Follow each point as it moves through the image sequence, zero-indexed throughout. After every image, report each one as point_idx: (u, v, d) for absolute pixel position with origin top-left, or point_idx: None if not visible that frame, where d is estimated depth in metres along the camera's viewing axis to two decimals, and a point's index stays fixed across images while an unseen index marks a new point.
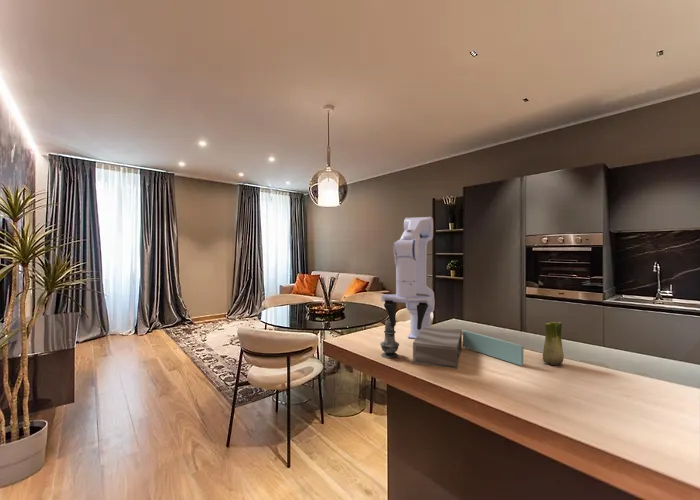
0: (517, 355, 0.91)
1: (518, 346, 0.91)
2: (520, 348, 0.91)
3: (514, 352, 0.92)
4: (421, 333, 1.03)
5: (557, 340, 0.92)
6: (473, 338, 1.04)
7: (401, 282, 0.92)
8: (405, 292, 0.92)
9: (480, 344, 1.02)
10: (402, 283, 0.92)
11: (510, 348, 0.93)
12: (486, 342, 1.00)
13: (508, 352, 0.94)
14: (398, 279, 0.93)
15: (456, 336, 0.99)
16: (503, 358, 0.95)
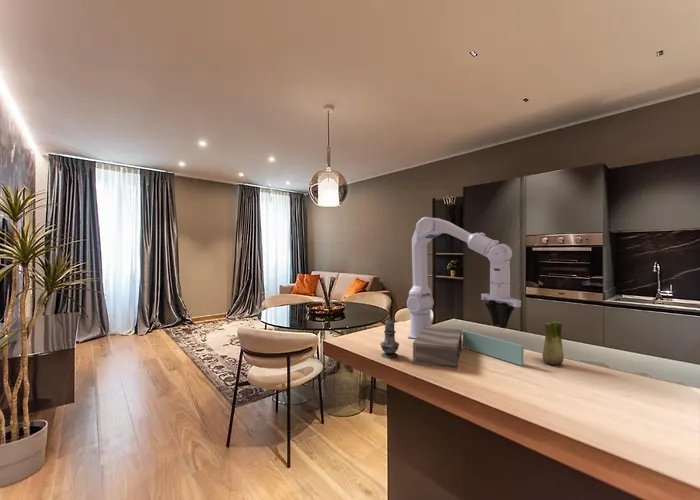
0: (517, 355, 0.91)
1: (518, 346, 0.91)
2: (520, 348, 0.91)
3: (514, 352, 0.92)
4: (421, 333, 1.03)
5: (557, 340, 0.92)
6: (473, 338, 1.04)
7: (491, 283, 1.01)
8: (493, 293, 1.00)
9: (480, 344, 1.02)
10: (491, 284, 1.01)
11: (510, 348, 0.93)
12: (486, 342, 1.00)
13: (508, 352, 0.94)
14: (505, 281, 0.99)
15: (456, 336, 0.99)
16: (503, 358, 0.95)
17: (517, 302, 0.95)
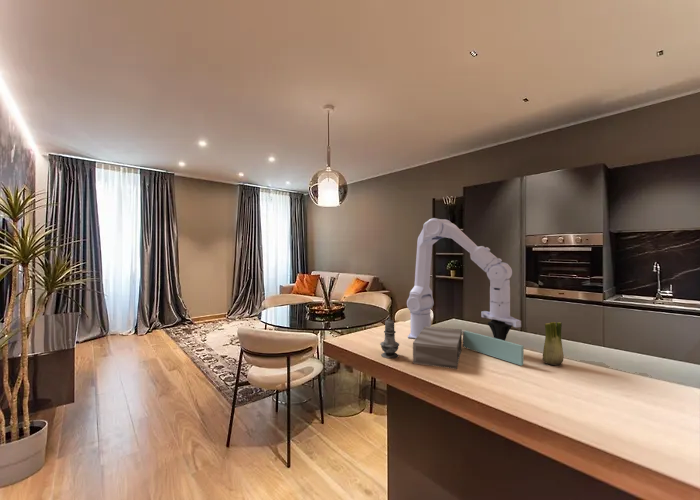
0: (517, 355, 0.91)
1: (518, 346, 0.91)
2: (520, 348, 0.91)
3: (514, 352, 0.92)
4: (421, 333, 1.03)
5: (557, 340, 0.92)
6: (473, 338, 1.04)
7: (491, 302, 1.01)
8: (493, 312, 1.01)
9: (480, 344, 1.02)
10: (491, 303, 1.01)
11: (510, 348, 0.93)
12: (486, 342, 1.00)
13: (508, 352, 0.94)
14: (505, 301, 0.99)
15: (456, 336, 0.99)
16: (503, 358, 0.95)
17: (517, 322, 0.95)
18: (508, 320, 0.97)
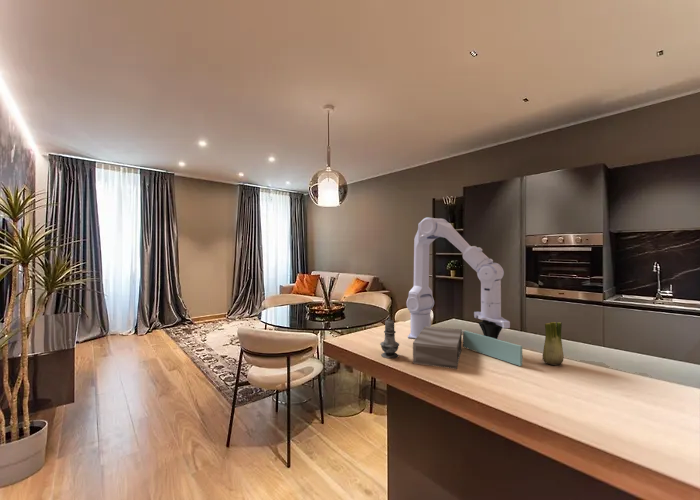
0: (516, 355, 0.91)
1: (517, 346, 0.91)
2: (519, 348, 0.90)
3: (513, 352, 0.92)
4: (421, 333, 1.03)
5: (557, 340, 0.92)
6: (473, 338, 1.04)
7: (481, 302, 1.01)
8: (483, 312, 1.00)
9: (479, 344, 1.01)
10: (482, 303, 1.01)
11: (509, 348, 0.93)
12: (485, 342, 1.00)
13: (507, 352, 0.93)
14: (495, 301, 0.99)
15: (456, 336, 0.99)
16: (502, 358, 0.95)
17: (505, 323, 0.94)
18: (497, 321, 0.96)
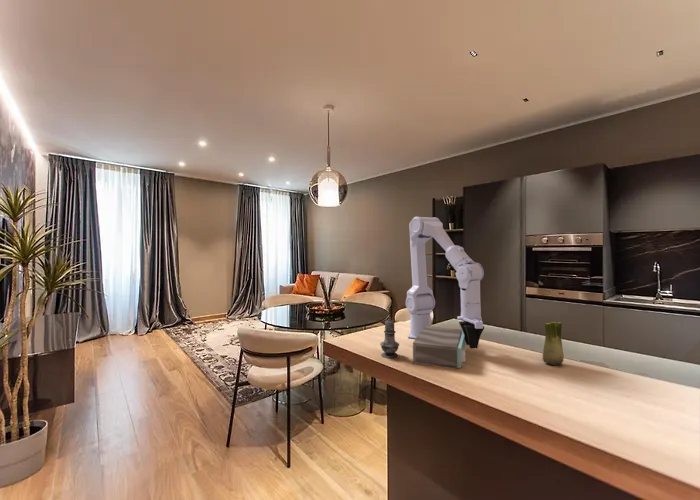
0: None
1: (457, 348, 0.90)
2: None
3: None
4: (421, 333, 1.03)
5: (557, 340, 0.92)
6: None
7: None
8: (461, 312, 1.00)
9: None
10: None
11: None
12: None
13: None
14: (472, 301, 0.98)
15: (456, 336, 0.99)
16: None
17: (478, 323, 0.93)
18: (471, 321, 0.95)
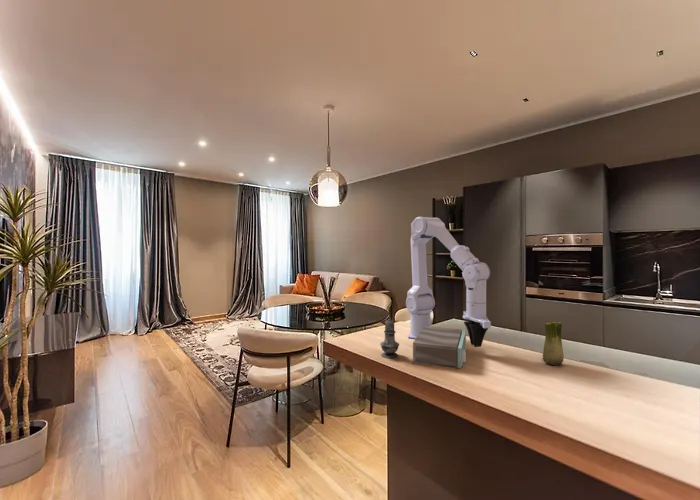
0: None
1: (457, 348, 0.90)
2: None
3: None
4: (421, 333, 1.03)
5: (557, 340, 0.92)
6: None
7: (466, 302, 1.01)
8: (467, 312, 1.00)
9: None
10: (466, 303, 1.01)
11: None
12: None
13: None
14: (479, 301, 0.98)
15: (456, 336, 0.99)
16: None
17: (486, 323, 0.94)
18: (479, 320, 0.96)
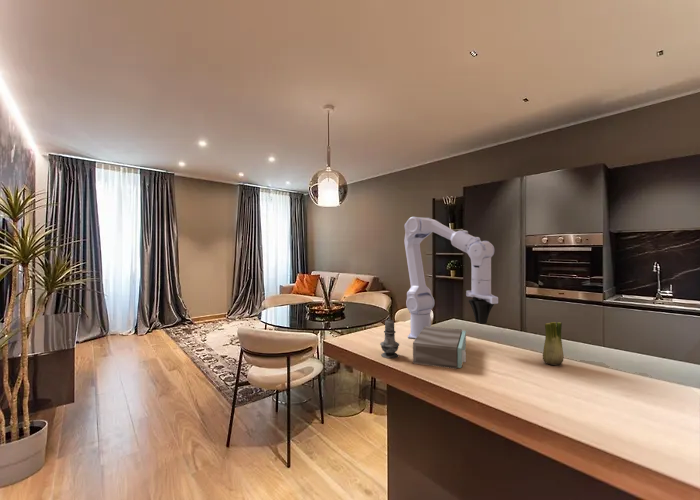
0: None
1: (457, 348, 0.90)
2: None
3: None
4: (421, 333, 1.03)
5: (557, 340, 0.92)
6: None
7: (471, 280, 1.02)
8: (473, 289, 1.01)
9: None
10: (472, 281, 1.02)
11: None
12: None
13: None
14: (485, 278, 0.99)
15: (456, 336, 0.99)
16: None
17: (494, 299, 0.95)
18: (486, 297, 0.97)
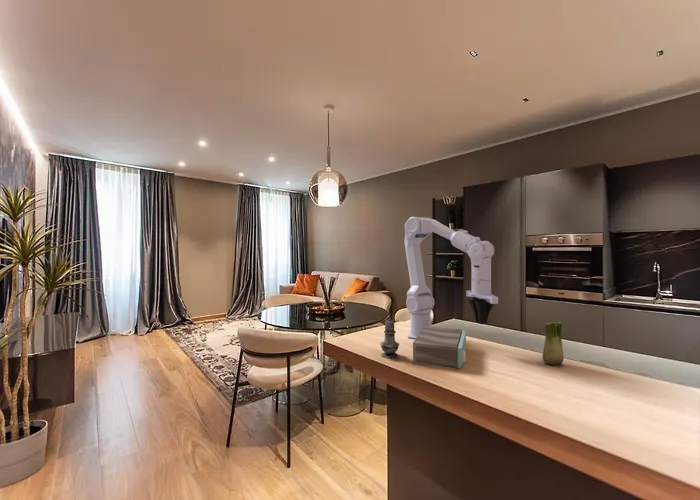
0: None
1: (457, 348, 0.90)
2: None
3: None
4: (421, 333, 1.03)
5: (557, 340, 0.92)
6: None
7: (471, 280, 1.02)
8: (473, 289, 1.01)
9: None
10: (472, 281, 1.02)
11: None
12: None
13: None
14: (485, 278, 0.99)
15: (456, 336, 0.99)
16: None
17: (494, 299, 0.95)
18: (486, 297, 0.97)
